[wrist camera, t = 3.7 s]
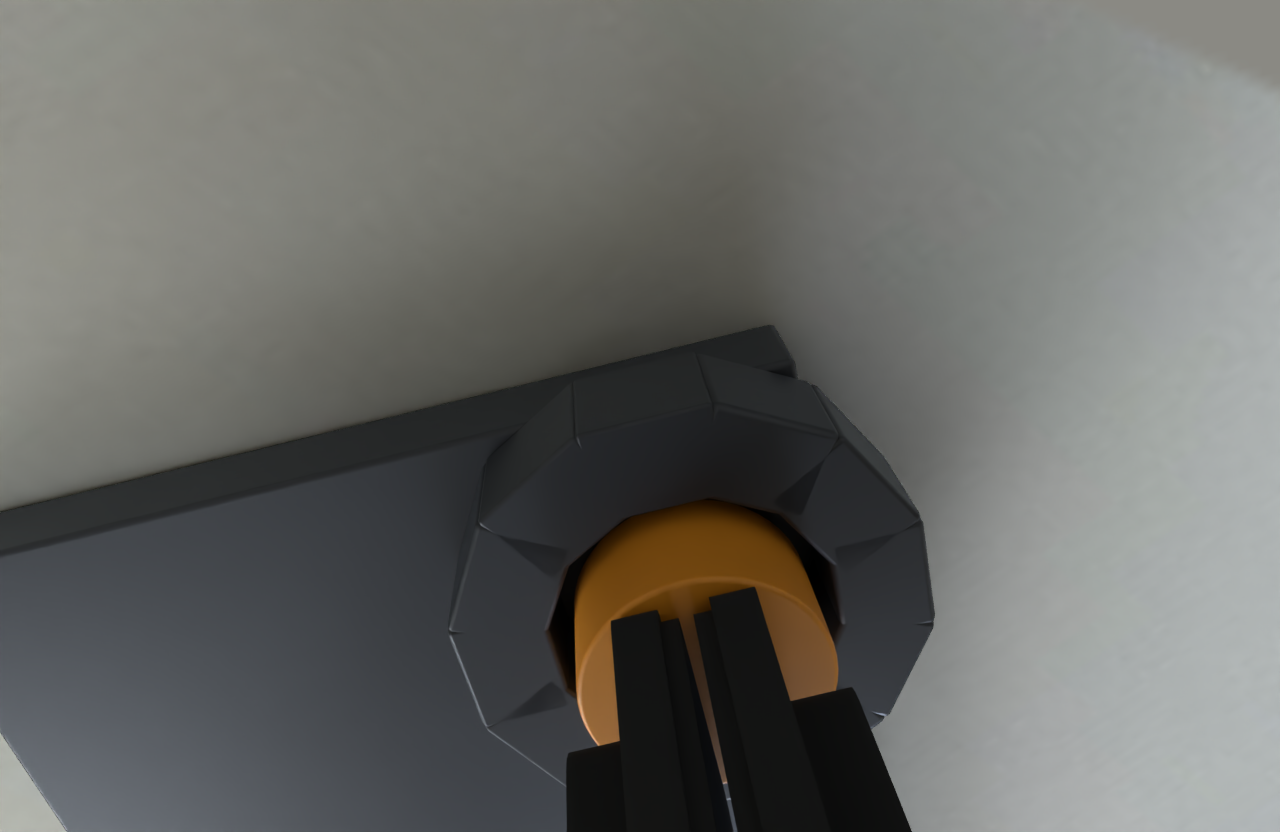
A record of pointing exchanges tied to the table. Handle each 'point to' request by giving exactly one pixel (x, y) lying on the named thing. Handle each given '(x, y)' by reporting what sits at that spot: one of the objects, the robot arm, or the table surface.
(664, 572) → the orange cylinder
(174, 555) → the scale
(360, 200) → the table surface
